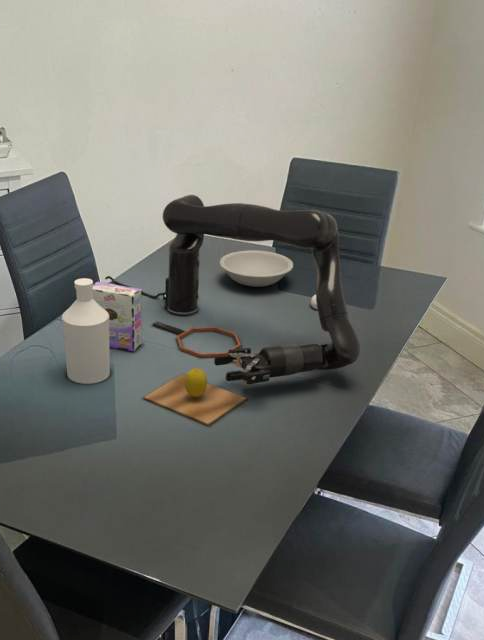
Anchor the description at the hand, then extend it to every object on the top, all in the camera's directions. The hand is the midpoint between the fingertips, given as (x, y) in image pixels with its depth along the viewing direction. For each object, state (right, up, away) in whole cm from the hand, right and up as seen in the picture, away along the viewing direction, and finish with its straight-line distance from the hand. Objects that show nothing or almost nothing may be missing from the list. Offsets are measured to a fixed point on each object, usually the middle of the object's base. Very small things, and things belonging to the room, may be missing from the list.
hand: (220, 369), depth 182 cm
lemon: (-6, -7, +3) cm, 10 cm away
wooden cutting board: (-6, -7, +3) cm, 10 cm away
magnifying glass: (-5, +15, +31) cm, 35 cm away
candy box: (-27, +12, +28) cm, 41 cm away
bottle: (-34, +1, +14) cm, 37 cm away
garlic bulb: (+36, +29, +48) cm, 67 cm away
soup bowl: (+18, +41, +64) cm, 78 cm away
